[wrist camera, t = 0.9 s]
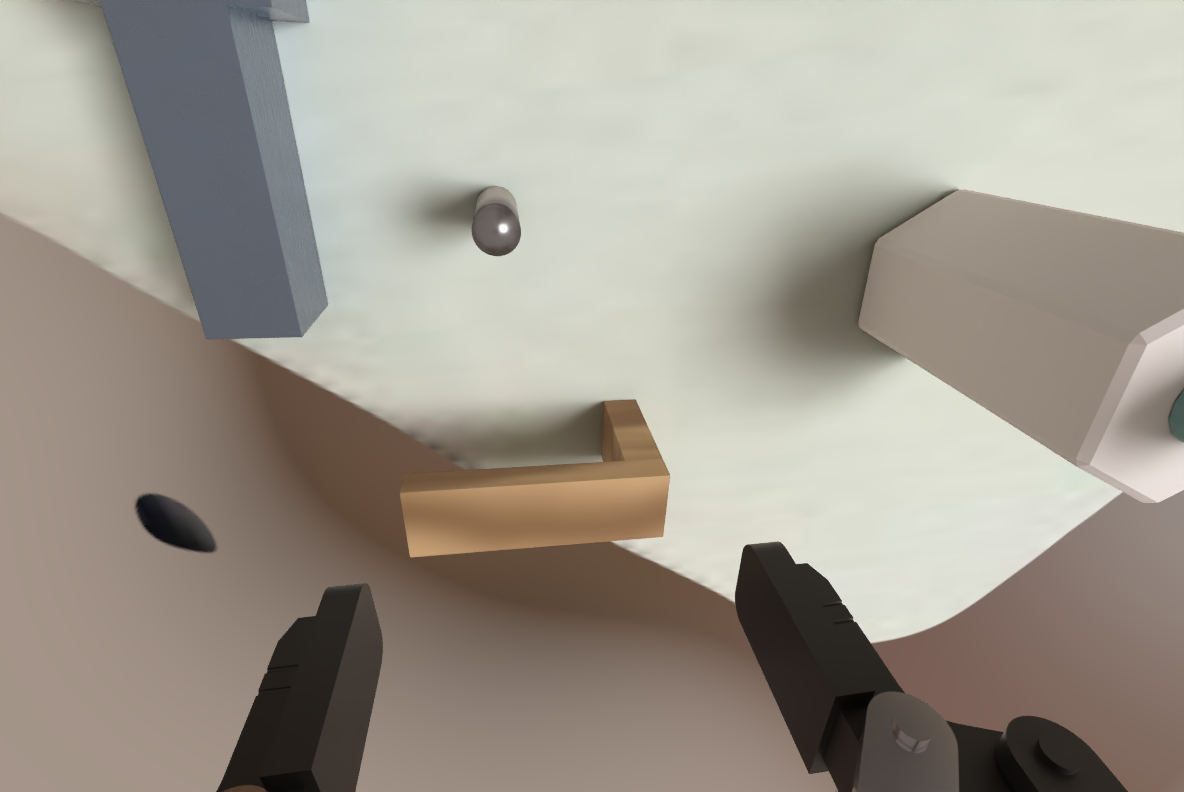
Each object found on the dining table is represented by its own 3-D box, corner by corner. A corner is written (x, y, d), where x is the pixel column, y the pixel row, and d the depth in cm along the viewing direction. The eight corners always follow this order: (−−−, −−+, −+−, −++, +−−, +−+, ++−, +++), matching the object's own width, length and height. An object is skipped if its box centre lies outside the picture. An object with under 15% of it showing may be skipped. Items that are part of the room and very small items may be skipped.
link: (55, -229, 19) (-57, -311, 16) (270, -206, 20) (216, -278, 17) (214, 307, 29) (169, 340, 25) (358, 304, 30) (336, 335, 26)
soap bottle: (975, 349, 37) (1494, 622, 18) (846, 361, 36) (1249, 666, 17) (1029, 184, 32) (1825, 315, 13) (881, 193, 31) (1508, 349, 12)
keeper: (420, 409, 33) (399, 493, 26) (635, 399, 35) (670, 475, 28) (427, 465, 35) (410, 557, 28) (631, 453, 37) (662, 536, 30)
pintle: (475, 185, 28) (470, 206, 22) (515, 186, 28) (519, 206, 23) (477, 227, 29) (473, 256, 23) (517, 227, 29) (521, 255, 24)
